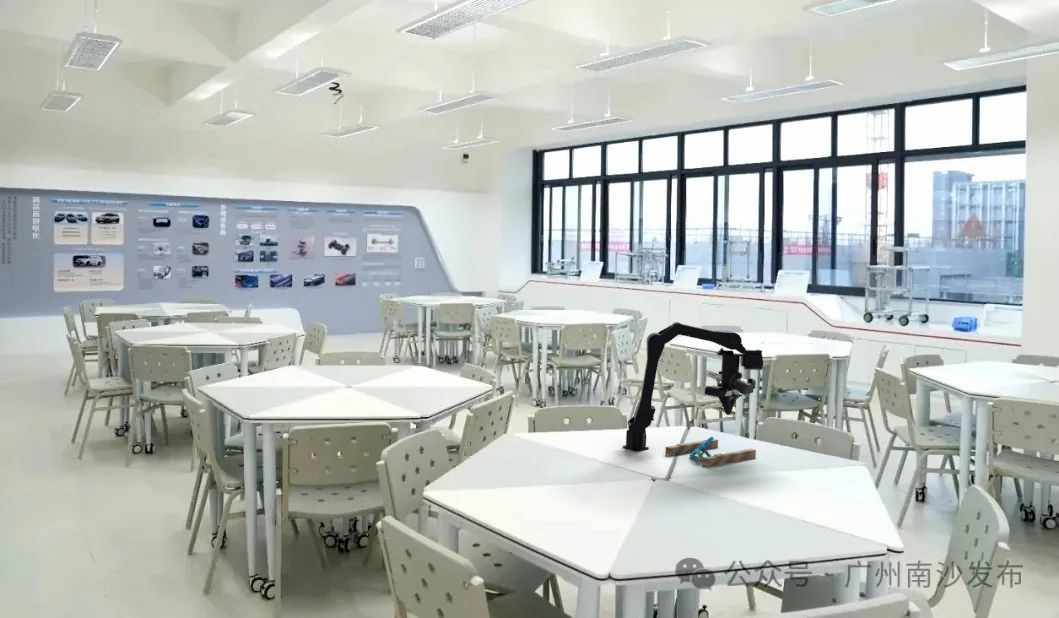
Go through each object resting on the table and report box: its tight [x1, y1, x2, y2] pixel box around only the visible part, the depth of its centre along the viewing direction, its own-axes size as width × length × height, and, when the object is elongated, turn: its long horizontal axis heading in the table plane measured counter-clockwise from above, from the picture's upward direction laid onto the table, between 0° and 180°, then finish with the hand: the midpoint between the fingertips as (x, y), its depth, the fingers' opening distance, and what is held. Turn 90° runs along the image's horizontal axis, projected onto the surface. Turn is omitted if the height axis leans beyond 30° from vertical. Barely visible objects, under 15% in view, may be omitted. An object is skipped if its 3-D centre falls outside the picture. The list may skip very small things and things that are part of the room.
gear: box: [689, 436, 715, 460], centre depth 261 cm, size 11×6×10 cm
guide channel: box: [665, 438, 757, 468], centre depth 266 cm, size 24×18×3 cm
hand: (728, 414), depth 270 cm, fingers closed
